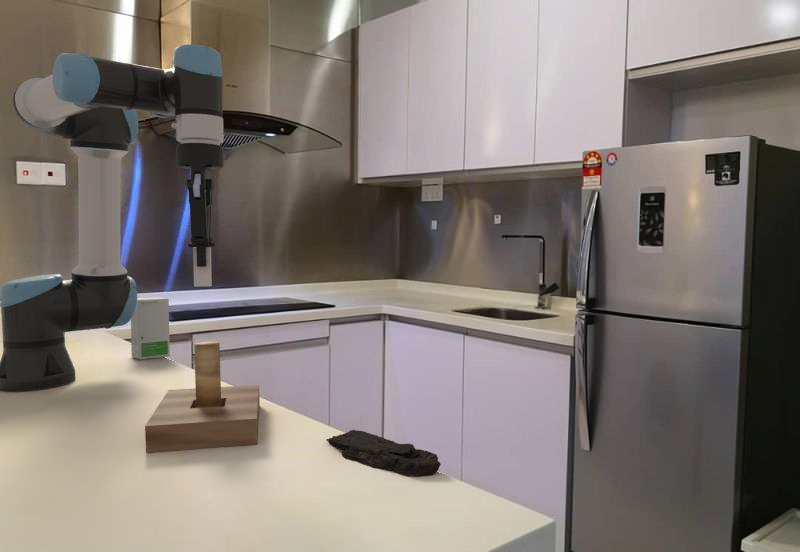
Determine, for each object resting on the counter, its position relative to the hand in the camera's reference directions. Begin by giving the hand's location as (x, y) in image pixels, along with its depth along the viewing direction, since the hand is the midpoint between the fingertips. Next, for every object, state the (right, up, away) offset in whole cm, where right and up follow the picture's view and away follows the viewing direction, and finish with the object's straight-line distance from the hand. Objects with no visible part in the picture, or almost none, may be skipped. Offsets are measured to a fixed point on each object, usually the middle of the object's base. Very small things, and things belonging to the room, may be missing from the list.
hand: (202, 285), depth 106 cm
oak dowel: (+1, -24, -1) cm, 24 cm away
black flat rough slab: (+30, -25, -15) cm, 42 cm away
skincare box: (-33, -20, +60) cm, 72 cm away
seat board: (+1, -24, -1) cm, 24 cm away
